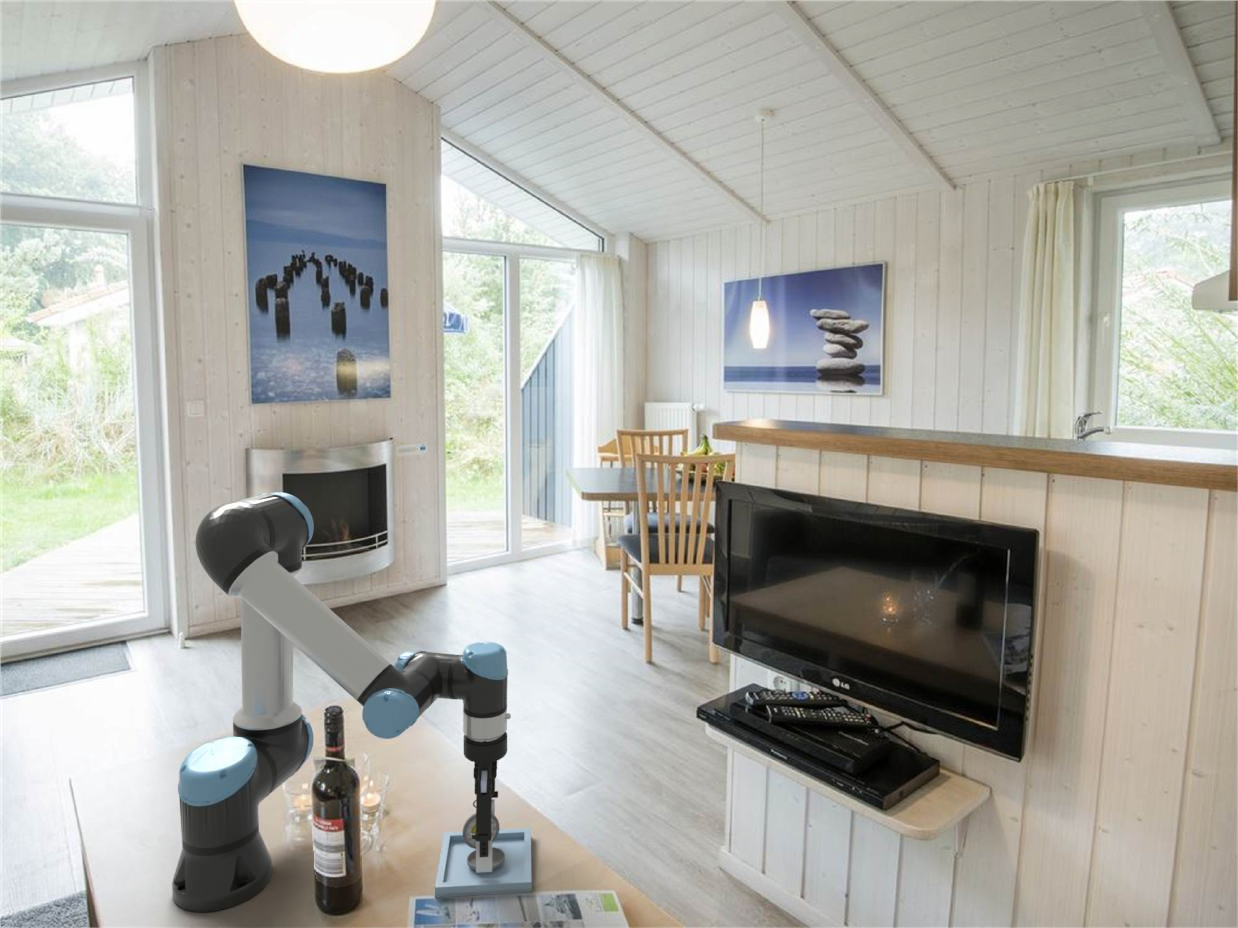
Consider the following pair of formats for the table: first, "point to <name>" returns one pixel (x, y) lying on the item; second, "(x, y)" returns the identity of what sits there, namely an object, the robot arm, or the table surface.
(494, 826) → the pocket watch
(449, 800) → the table surface
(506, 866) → the tray
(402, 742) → the table surface
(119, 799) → the table surface
